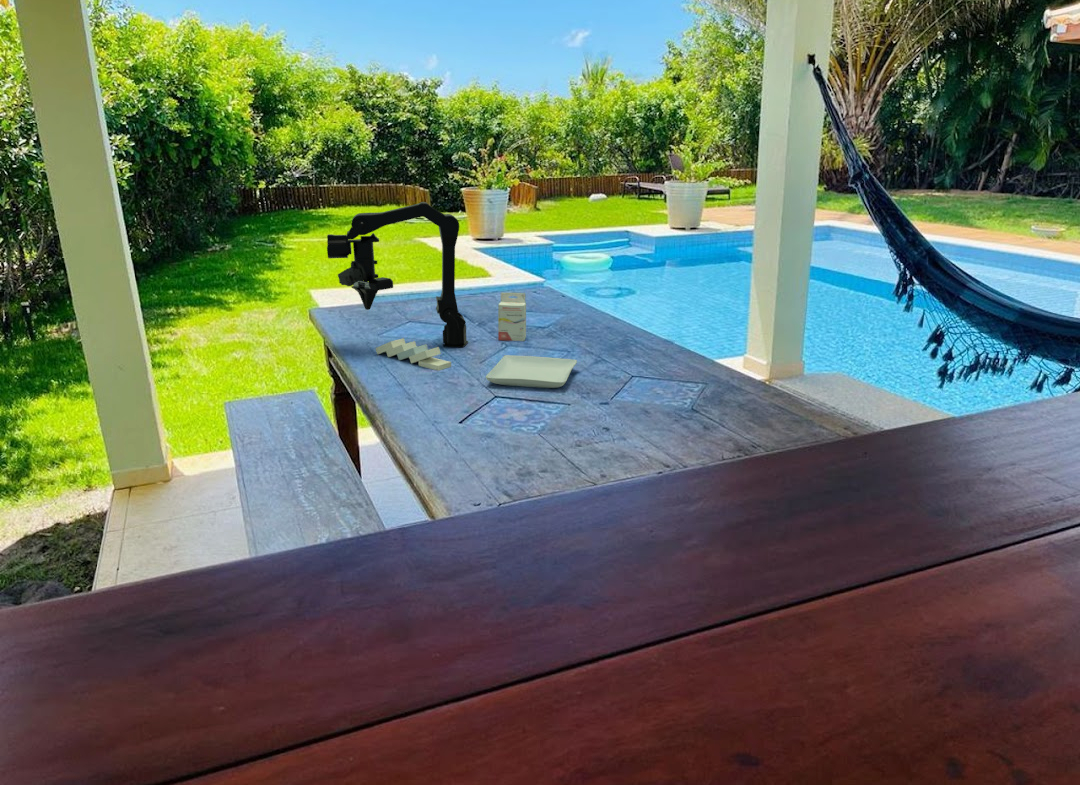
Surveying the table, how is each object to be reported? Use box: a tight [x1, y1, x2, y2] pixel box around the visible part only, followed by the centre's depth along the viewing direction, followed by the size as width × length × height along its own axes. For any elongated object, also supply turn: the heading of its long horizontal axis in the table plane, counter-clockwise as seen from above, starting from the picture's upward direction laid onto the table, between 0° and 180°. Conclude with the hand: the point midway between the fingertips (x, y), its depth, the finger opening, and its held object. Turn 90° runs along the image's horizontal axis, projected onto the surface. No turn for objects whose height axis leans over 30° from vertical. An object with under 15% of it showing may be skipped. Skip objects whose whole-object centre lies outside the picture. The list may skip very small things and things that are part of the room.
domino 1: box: [375, 337, 407, 355], centre depth 229 cm, size 2×5×8 cm
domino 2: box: [385, 340, 418, 358], centre depth 226 cm, size 2×5×8 cm
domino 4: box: [408, 346, 442, 364], centre depth 219 cm, size 2×5×8 cm
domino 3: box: [396, 343, 429, 361], centre depth 223 cm, size 2×5×8 cm
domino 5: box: [418, 356, 452, 372], centre depth 218 cm, size 2×5×8 cm
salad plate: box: [485, 354, 578, 389], centre depth 207 cm, size 21×21×3 cm
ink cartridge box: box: [497, 291, 527, 342], centre depth 245 cm, size 9×5×15 cm, turn 84°
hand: (367, 309), depth 231 cm, fingers closed
